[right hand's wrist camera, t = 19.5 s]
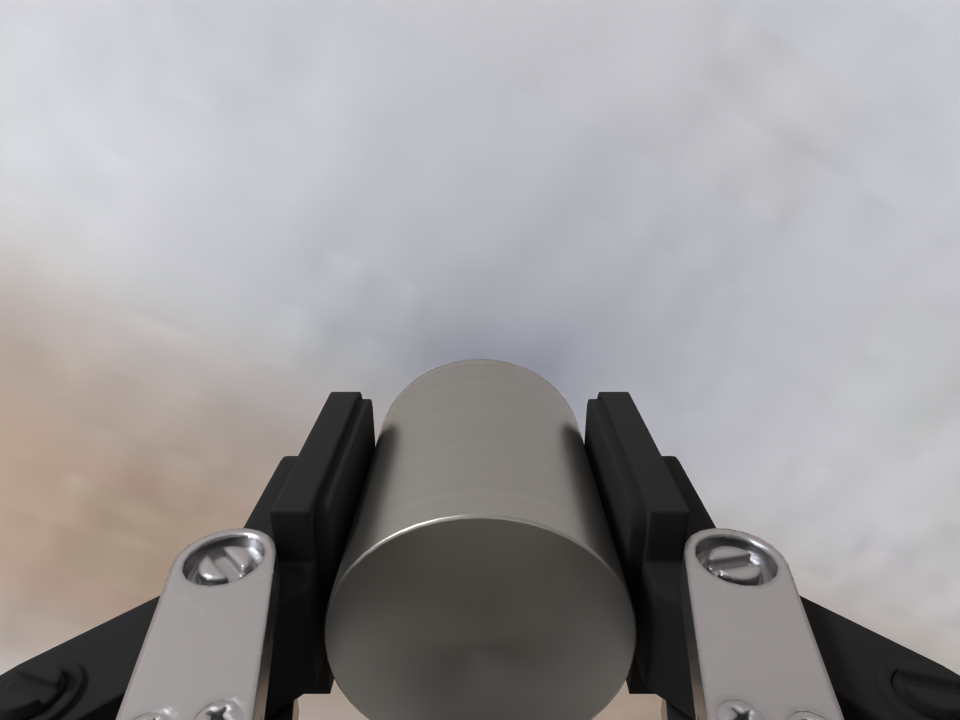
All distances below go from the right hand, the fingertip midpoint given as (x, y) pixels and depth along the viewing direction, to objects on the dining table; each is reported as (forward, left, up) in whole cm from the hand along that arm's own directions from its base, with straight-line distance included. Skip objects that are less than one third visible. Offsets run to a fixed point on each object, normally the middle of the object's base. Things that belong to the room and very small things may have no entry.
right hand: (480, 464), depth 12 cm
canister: (0, 0, -1) cm, 1 cm away
